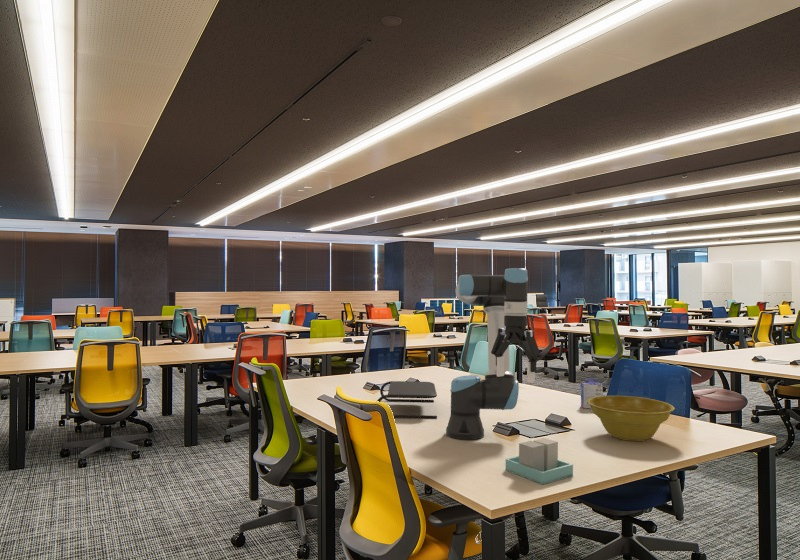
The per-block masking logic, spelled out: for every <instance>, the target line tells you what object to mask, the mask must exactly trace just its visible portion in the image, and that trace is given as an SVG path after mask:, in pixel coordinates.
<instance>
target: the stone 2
mask: <svg viewBox="0 0 800 560" xmlns="http://www.w3.org/2000/svg"><path fill="white" fill-rule="evenodd" d="M532 441H533V442H537V443H540V444H543V445H544V471H547V470H551V469H555V468H558V460H559V449H558V448H559V441H557V440H552V439H549V438H546V437H541V438H539V439H534V440H532Z"/></svg>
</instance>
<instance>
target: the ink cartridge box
mask: <svg viewBox="0 0 800 560" xmlns="http://www.w3.org/2000/svg"><path fill="white" fill-rule="evenodd" d="M586 380H587V382H580V407H581V408H582V409H591V406H590V404H589V403H588V402H587V400H588V399H590V398H593V397H599V396H604V395H603V394H604V393H603V392H604V391H603V389H604V388H603V383H601V382H596V381H595V378H593V377H587V378H586Z"/></svg>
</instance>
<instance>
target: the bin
mask: <svg viewBox="0 0 800 560" xmlns="http://www.w3.org/2000/svg"><path fill="white" fill-rule="evenodd" d="M505 471H506V472H510V473H512V474H514V475H518V476H520V477H522V478H524V479H528V480H530V481H532V482H535V483H538V484H540V485H545V484H549V483H554V482H556V481H559V480H562V479H567V478H570V477H572V476H574V464H573V463H570V462H567V461H565V460H560V459H558V468H555V469H551V470H547V471H543V472H542V471H539V470H536V469H533V468H531V467H528V466H525V465H522V464H520V463H519V455H518V456H513V457H509V458H505Z"/></svg>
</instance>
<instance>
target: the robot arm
mask: <svg viewBox="0 0 800 560" xmlns="http://www.w3.org/2000/svg"><path fill="white" fill-rule="evenodd" d="M528 282H529V276H528V270H527V269H526V268H517V267H514V268H513V267H511V268H506V269H504V274H470V273H469V274H461V275H459V276H458V281H457V285H456V286H455V289H454V290H455V291H454V292H455V296H456V299H458V300H459V301H460V302H461V303H464V304H466V305H470V306H475V307H482V308H483V312H484V313H485V314H486V315H487V317H486V318H487V319H486V320H487V322H486V323H487V354H488V355H487V360H488V365H487V366H488V370H487V371H488V372H486V373H485V375H484V379H481V377H480V376H479V375H474V374H469V375H468V374H467V375H461V376H457V377H454V378H453V379H452V380H451V381H450V382H451V383H450V385H451V386H450V415H449V416H450V417H449V419H448V423H447V426H446V429H445V435H446V436H447V437H450V438H453V439H455V440H463V441H464V440H467V441H471V440H479V439H482V438H484V436H485V430H484V429H485V428H484V426H483V422H482V419H481V415H480V413H481V410H501V411H505V410H513V409H515V408H516V406H517V403H518V398H519V389H520V386H519V381H518V379H515V375H514V374H513V372H512V371H511V368H510V363H511V362H510V346H511V344H513V343H514V344H518V345H519V346H520V347H521V349H522V350H523V353H524V354H525V356H526V357H527V359H528V361H527V369H526V372H527V375H526V382H527V383H529V384H531V383H535V382H536V373H537V362H538V361H541V360H543V357H542V355H541V352H540V350H539V346H538V344H537V341H536V338H535V332H534V330H527V327H528V316H527V314H528V286H529V285H528Z"/></svg>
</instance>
